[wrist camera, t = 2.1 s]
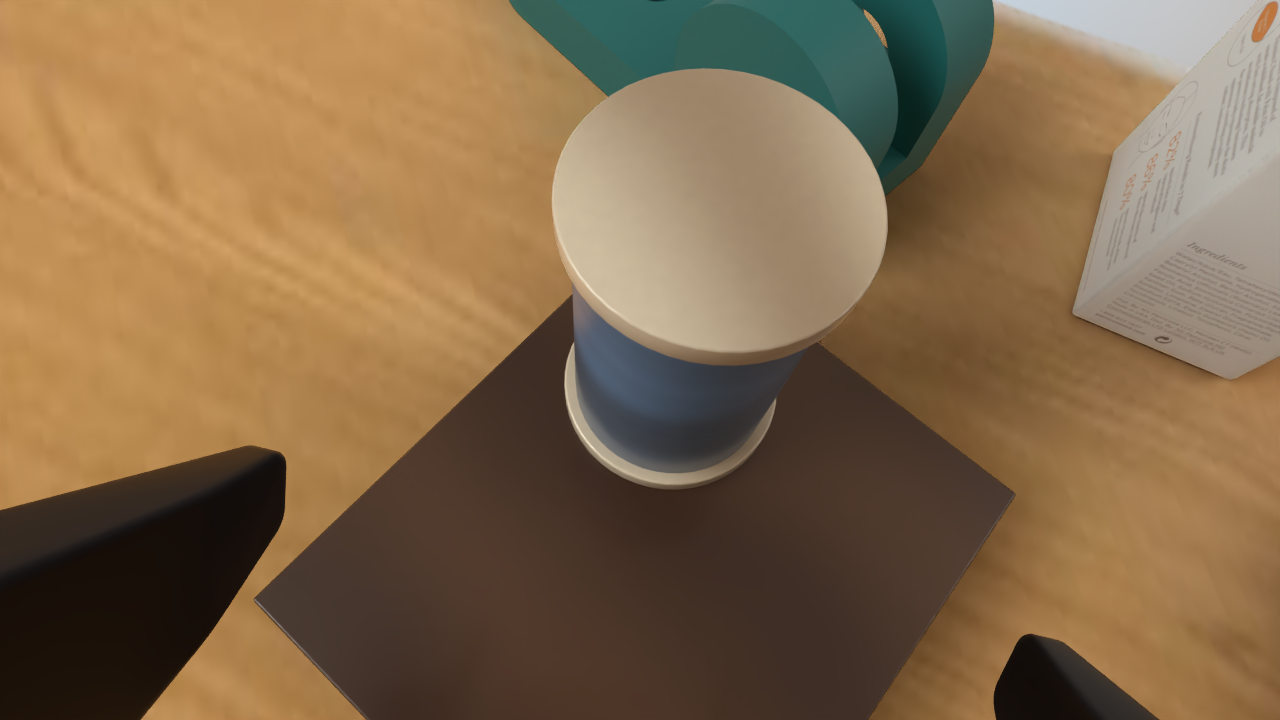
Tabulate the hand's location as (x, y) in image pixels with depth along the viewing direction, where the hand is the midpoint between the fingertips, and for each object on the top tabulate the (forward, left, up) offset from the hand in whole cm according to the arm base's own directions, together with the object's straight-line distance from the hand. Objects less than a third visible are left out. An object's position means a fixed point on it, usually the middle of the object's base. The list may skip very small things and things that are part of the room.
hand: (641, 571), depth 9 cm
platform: (+2, +1, -13) cm, 13 cm away
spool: (+6, +3, -10) cm, 12 cm away
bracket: (+17, +12, -13) cm, 25 cm away
